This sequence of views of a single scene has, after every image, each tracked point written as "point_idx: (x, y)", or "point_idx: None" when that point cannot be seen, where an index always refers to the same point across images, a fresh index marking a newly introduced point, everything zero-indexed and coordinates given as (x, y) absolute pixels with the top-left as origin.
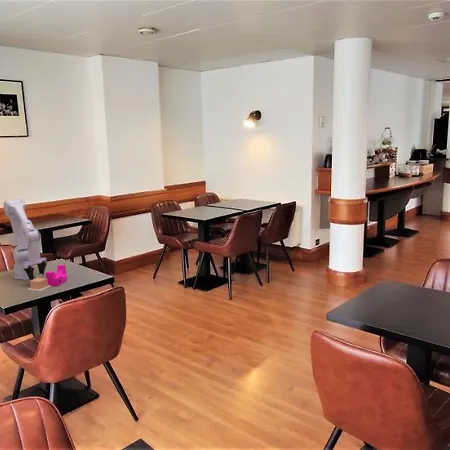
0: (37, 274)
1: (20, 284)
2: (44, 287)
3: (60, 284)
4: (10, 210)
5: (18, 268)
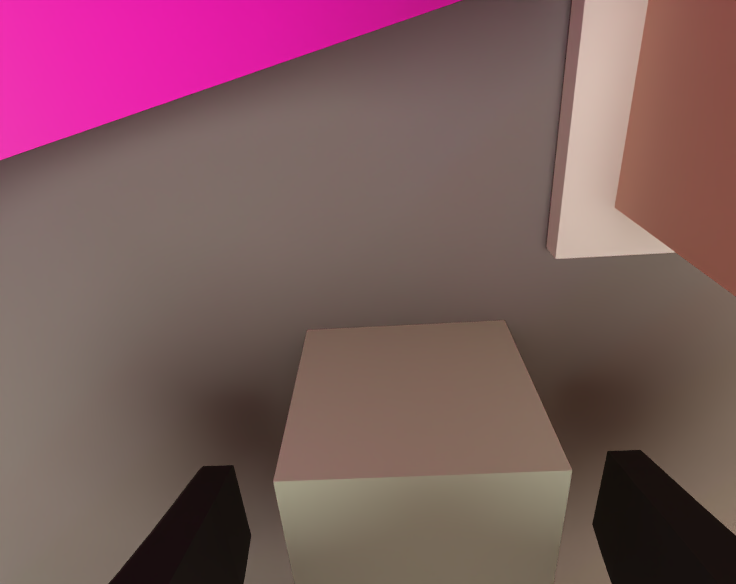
0: (373, 572)
1: (576, 568)
2: None
3: None
4: None
5: None
